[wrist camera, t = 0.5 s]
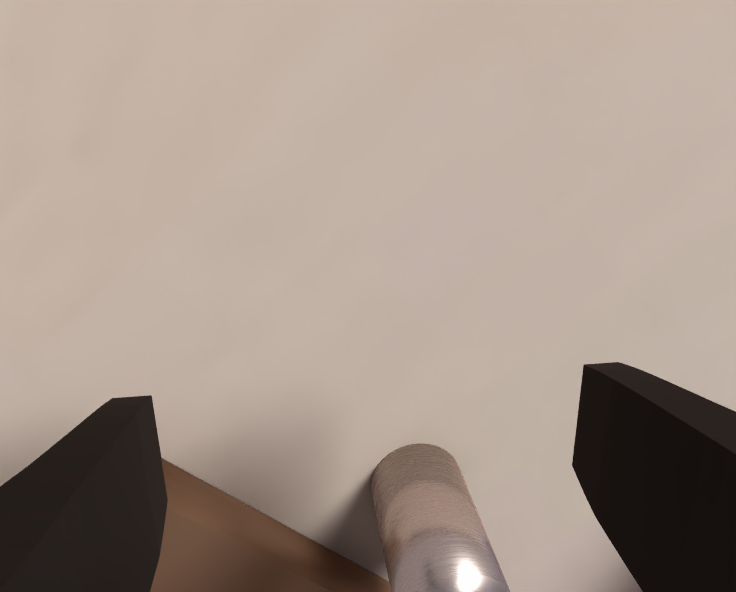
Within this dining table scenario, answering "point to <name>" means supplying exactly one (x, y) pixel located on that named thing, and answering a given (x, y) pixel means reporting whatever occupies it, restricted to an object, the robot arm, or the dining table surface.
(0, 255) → the dining table surface
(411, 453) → the steel roller
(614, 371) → the robot arm
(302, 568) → the walnut plate
